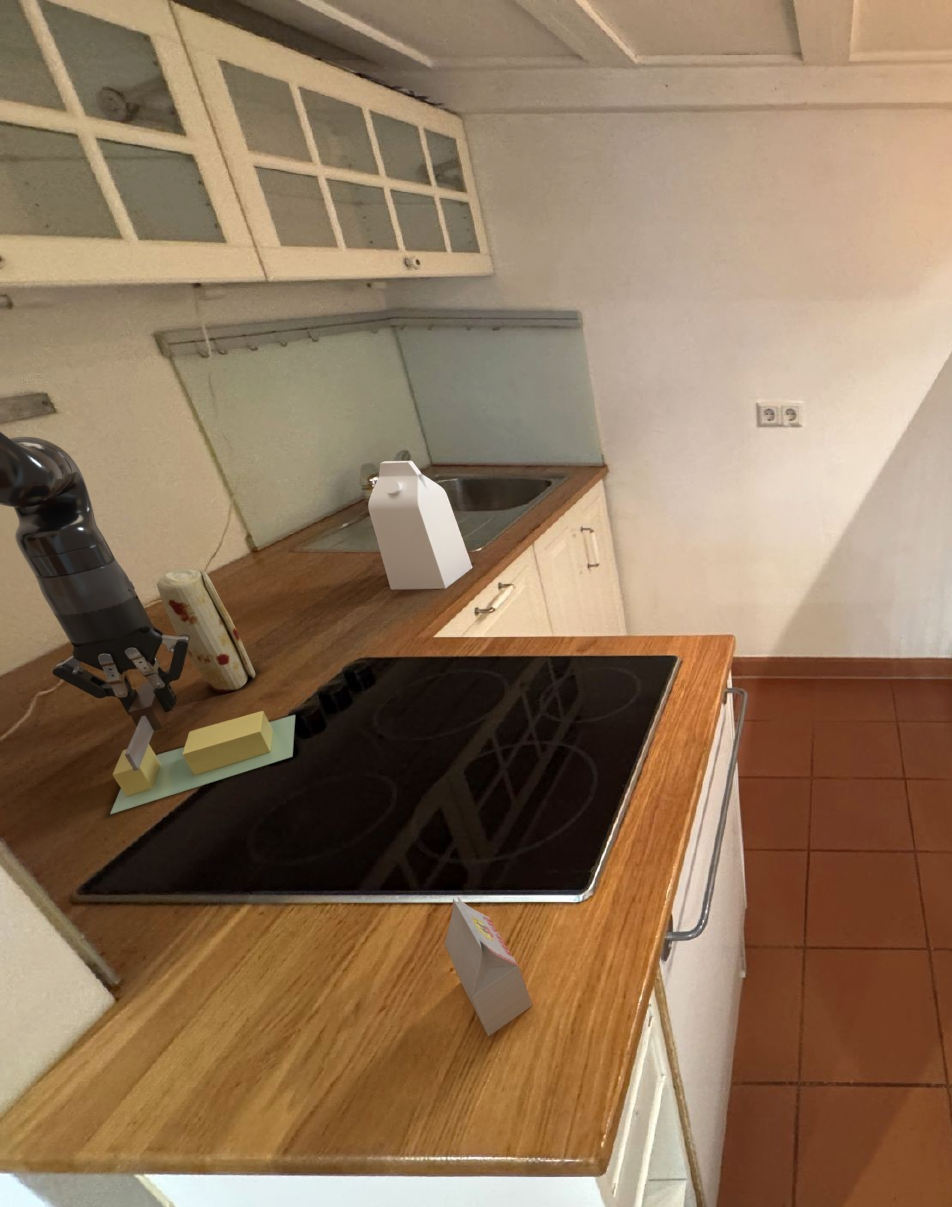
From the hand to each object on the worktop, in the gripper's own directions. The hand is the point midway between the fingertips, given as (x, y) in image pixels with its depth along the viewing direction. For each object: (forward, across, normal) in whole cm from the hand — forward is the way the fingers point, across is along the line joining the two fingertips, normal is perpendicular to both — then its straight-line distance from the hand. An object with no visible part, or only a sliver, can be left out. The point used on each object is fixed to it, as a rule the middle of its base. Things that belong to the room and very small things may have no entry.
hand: (156, 711), depth 91 cm
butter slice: (+5, -1, -10) cm, 11 cm away
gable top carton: (+5, +30, -68) cm, 74 cm away
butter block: (+4, +8, -10) cm, 13 cm away
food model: (+6, +6, +15) cm, 17 cm away
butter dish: (+5, +5, -10) cm, 12 cm away
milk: (+5, +38, +44) cm, 59 cm away
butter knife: (+1, 0, -5) cm, 5 cm away
